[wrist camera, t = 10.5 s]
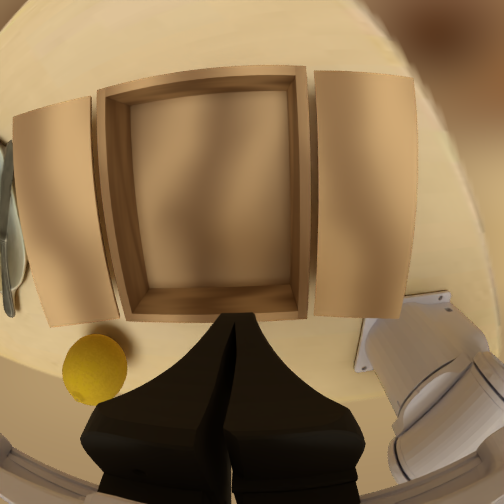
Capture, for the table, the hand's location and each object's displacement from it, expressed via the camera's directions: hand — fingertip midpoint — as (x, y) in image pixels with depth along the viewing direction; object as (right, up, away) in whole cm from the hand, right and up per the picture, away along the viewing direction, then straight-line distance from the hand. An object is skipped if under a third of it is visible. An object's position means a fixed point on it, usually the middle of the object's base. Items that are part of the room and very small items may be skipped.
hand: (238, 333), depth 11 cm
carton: (-2, +7, +8) cm, 11 cm away
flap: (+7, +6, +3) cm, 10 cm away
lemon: (-13, -5, +13) cm, 19 cm away
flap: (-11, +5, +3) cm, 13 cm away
